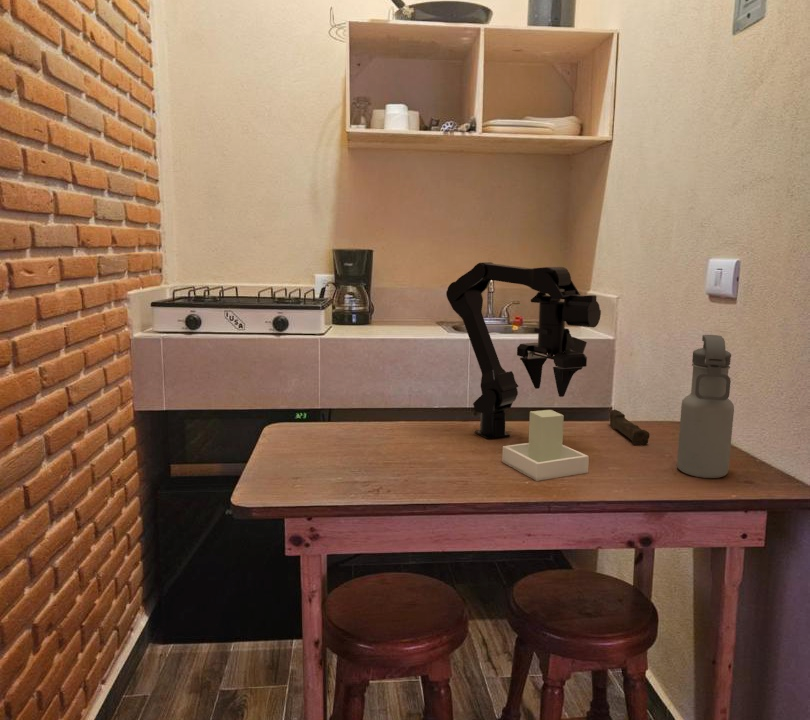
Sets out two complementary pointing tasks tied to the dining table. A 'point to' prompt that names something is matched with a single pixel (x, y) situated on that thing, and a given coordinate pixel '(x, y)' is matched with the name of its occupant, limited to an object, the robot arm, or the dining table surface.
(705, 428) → the water bottle
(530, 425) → the pale green tall block
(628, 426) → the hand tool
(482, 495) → the dining table surface
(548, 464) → the box
